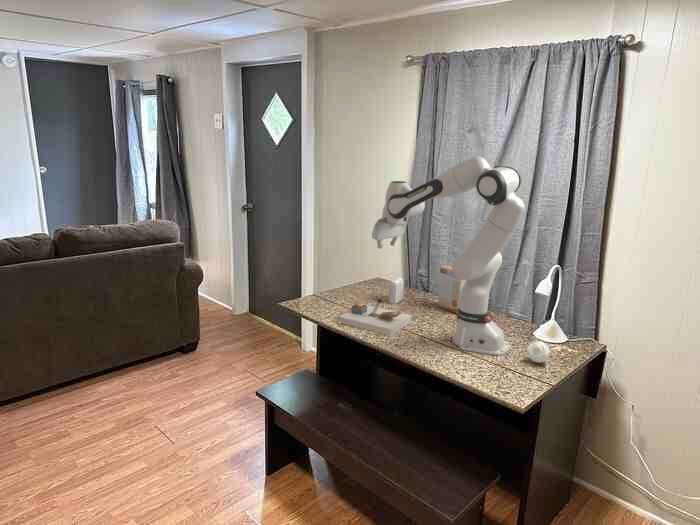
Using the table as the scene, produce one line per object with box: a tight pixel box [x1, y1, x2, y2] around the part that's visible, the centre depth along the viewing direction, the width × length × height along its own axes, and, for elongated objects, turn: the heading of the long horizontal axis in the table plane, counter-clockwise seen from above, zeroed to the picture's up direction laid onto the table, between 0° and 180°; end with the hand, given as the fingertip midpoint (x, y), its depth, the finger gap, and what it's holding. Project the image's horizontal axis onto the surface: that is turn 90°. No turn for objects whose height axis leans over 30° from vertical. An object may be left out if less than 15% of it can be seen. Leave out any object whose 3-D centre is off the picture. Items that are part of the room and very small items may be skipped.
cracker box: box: [437, 264, 466, 315], centre depth 233 cm, size 14×6×21 cm, turn 34°
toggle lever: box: [372, 298, 383, 314], centre depth 215 cm, size 2×2×8 cm
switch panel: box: [338, 303, 412, 337], centre depth 216 cm, size 26×20×6 cm
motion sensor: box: [526, 340, 551, 364], centre depth 181 cm, size 8×8×8 cm
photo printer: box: [388, 276, 404, 305], centre depth 244 cm, size 10×4×12 cm, turn 149°
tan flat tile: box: [378, 311, 402, 318], centre depth 212 cm, size 9×5×1 cm, turn 58°
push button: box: [355, 301, 364, 308], centre depth 220 cm, size 3×3×2 cm
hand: (386, 246), depth 215 cm, fingers open, 8 cm apart
